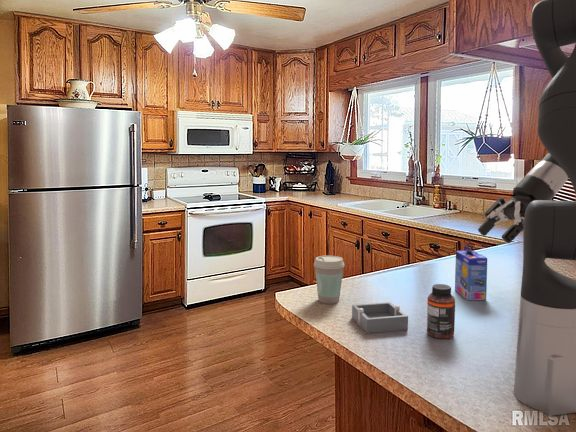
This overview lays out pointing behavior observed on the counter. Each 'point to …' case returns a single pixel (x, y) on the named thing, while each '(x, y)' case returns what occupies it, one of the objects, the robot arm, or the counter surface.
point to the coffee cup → (329, 278)
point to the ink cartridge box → (471, 275)
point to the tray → (379, 317)
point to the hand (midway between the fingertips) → (492, 236)
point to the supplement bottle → (441, 312)
